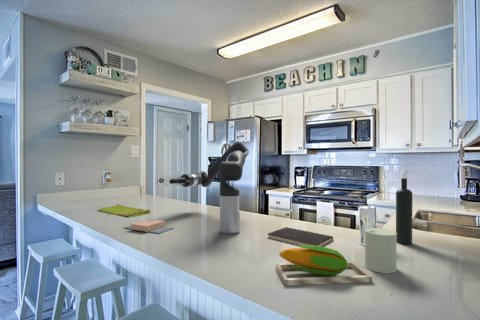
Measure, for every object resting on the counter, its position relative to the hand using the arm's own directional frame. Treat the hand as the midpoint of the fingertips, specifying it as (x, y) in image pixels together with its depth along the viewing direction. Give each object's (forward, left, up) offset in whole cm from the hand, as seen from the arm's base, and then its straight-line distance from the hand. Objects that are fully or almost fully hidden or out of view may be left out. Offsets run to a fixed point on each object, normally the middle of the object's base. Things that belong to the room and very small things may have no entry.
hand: (170, 181), depth 147 cm
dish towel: (+35, -29, -23) cm, 51 cm away
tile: (+5, +9, -20) cm, 23 cm away
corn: (-54, +71, -21) cm, 91 cm away
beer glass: (-86, +45, -22) cm, 100 cm away
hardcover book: (-61, +36, -23) cm, 75 cm away
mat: (+8, +14, -22) cm, 27 cm away
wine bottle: (-102, +45, -22) cm, 114 cm away
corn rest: (-56, +72, -22) cm, 94 cm away
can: (-77, +68, -22) cm, 106 cm away
